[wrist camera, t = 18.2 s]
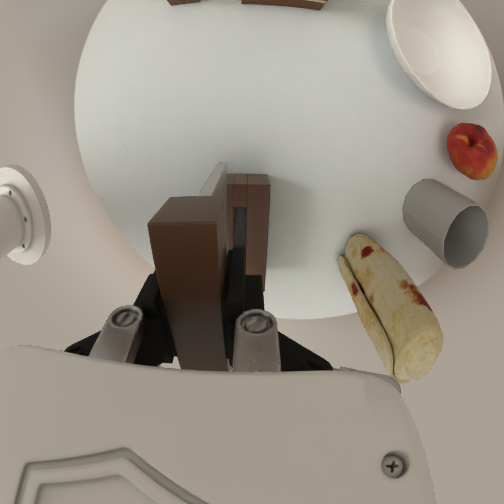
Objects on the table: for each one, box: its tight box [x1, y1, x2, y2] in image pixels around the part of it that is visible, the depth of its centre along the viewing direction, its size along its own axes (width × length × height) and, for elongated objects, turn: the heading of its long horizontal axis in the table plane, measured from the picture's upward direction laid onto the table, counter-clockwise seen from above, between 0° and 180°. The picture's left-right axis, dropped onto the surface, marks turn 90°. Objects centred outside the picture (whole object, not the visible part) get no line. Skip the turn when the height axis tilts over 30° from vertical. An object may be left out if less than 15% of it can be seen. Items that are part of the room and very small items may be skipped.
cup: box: [403, 180, 489, 269], centre depth 28 cm, size 8×8×10 cm
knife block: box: [227, 174, 270, 292], centre depth 32 cm, size 6×13×5 cm, turn 178°
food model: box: [338, 234, 443, 383], centre depth 27 cm, size 10×7×20 cm
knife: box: [148, 163, 232, 372], centre depth 14 cm, size 2×8×12 cm, turn 0°
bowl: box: [386, 0, 492, 110], centre depth 19 cm, size 16×16×7 cm
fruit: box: [447, 123, 497, 180], centre depth 24 cm, size 8×8×8 cm
